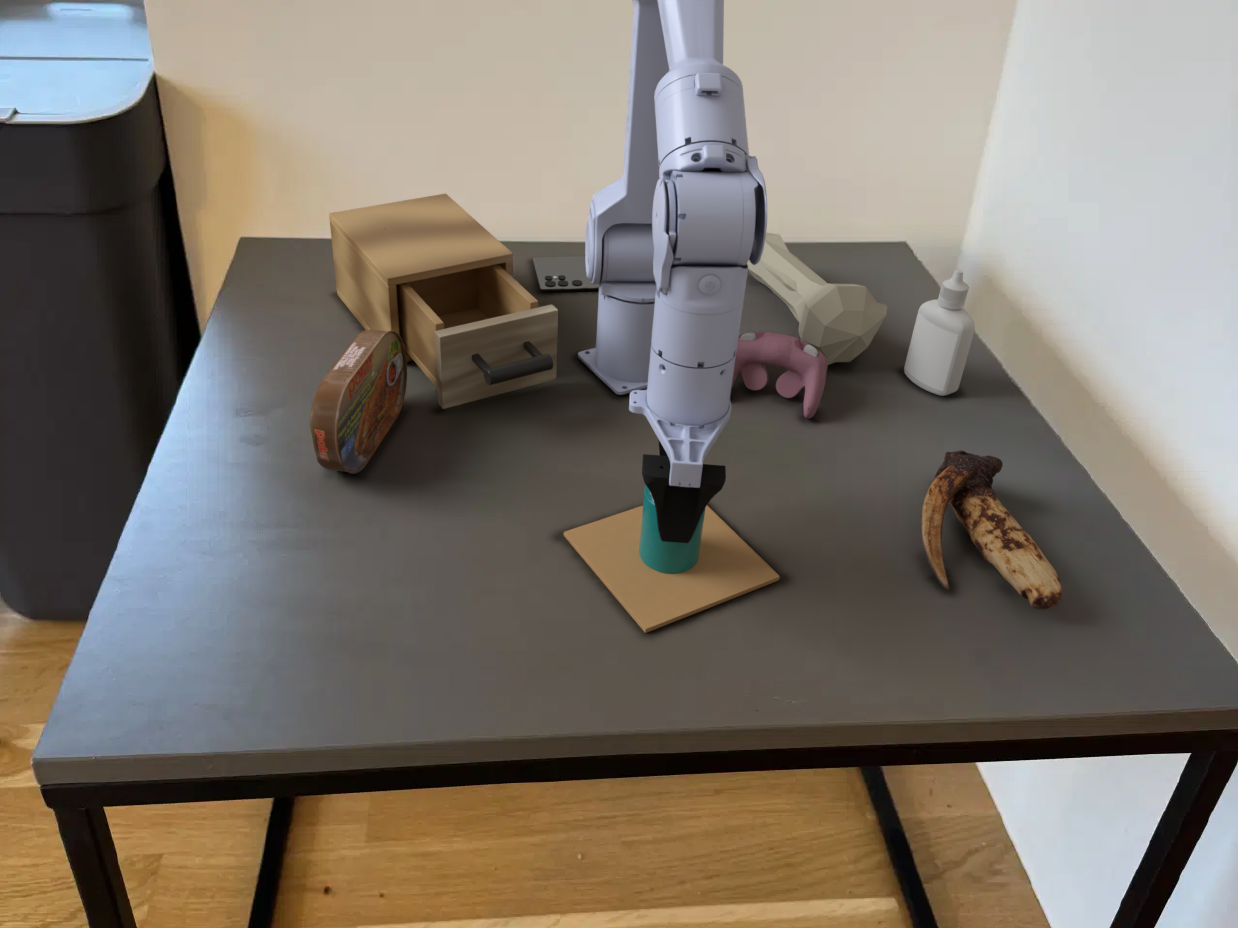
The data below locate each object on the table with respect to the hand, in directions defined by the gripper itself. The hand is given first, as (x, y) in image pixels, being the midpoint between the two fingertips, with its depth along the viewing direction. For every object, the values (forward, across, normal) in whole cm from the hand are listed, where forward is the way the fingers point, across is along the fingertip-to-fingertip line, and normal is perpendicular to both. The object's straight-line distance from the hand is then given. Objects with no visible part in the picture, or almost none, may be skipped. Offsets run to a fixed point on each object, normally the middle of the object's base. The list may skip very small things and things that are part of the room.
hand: (675, 505), depth 82 cm
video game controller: (+5, -24, +9) cm, 26 cm away
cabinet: (+5, -34, -26) cm, 43 cm away
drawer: (+4, -24, -19) cm, 31 cm away
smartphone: (+5, -47, -8) cm, 48 cm away
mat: (+5, 0, 0) cm, 5 cm away
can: (+5, 0, 0) cm, 5 cm away
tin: (+5, -12, -26) cm, 30 cm away
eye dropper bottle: (+5, -29, +25) cm, 39 cm away
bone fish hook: (+5, -4, +24) cm, 25 cm away
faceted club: (+5, -40, +13) cm, 43 cm away
